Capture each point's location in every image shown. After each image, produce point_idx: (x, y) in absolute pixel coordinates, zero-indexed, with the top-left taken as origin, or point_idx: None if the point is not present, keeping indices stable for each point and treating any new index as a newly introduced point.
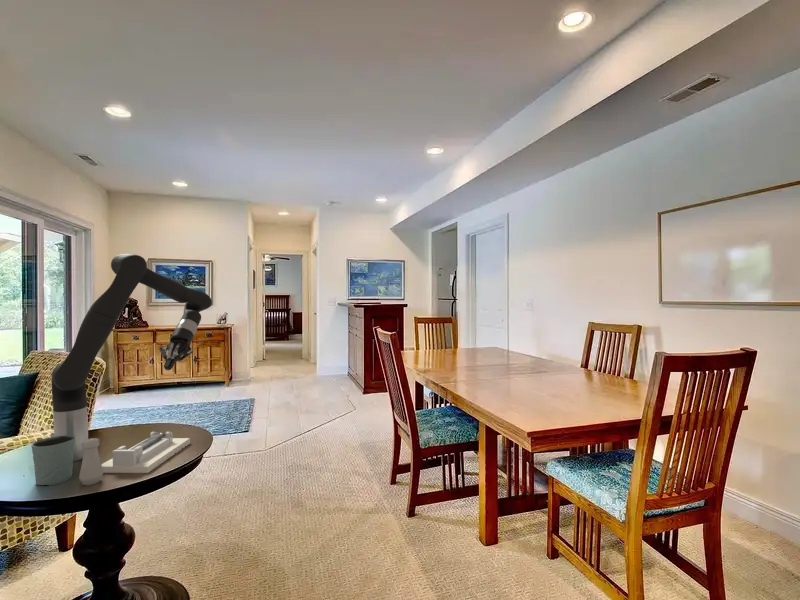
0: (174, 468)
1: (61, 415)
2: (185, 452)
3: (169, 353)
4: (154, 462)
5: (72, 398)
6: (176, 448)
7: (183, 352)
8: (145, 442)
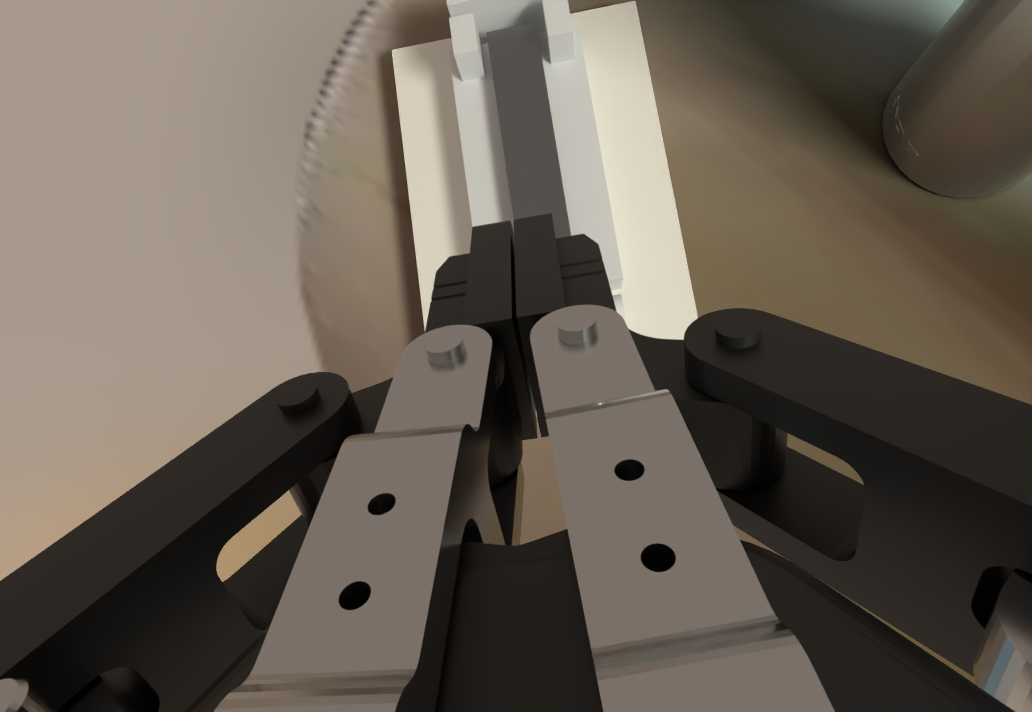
0: (312, 131)
1: None
2: (382, 306)
3: (602, 403)
4: (398, 99)
5: None
6: (420, 286)
7: (112, 527)
8: (535, 167)
